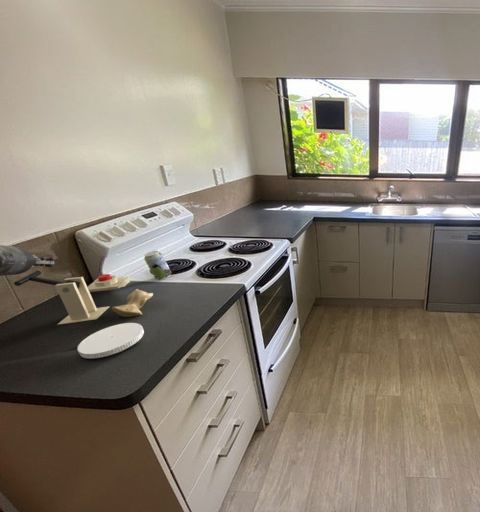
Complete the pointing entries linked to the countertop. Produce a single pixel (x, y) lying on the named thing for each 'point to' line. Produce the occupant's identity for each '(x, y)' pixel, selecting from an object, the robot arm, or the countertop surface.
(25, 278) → the lever
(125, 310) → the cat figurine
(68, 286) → the bracket
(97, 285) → the block
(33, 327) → the countertop surface
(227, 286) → the countertop surface
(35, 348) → the countertop surface
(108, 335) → the plastic lid
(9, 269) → the robot arm
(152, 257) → the beverage can
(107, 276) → the stop button
